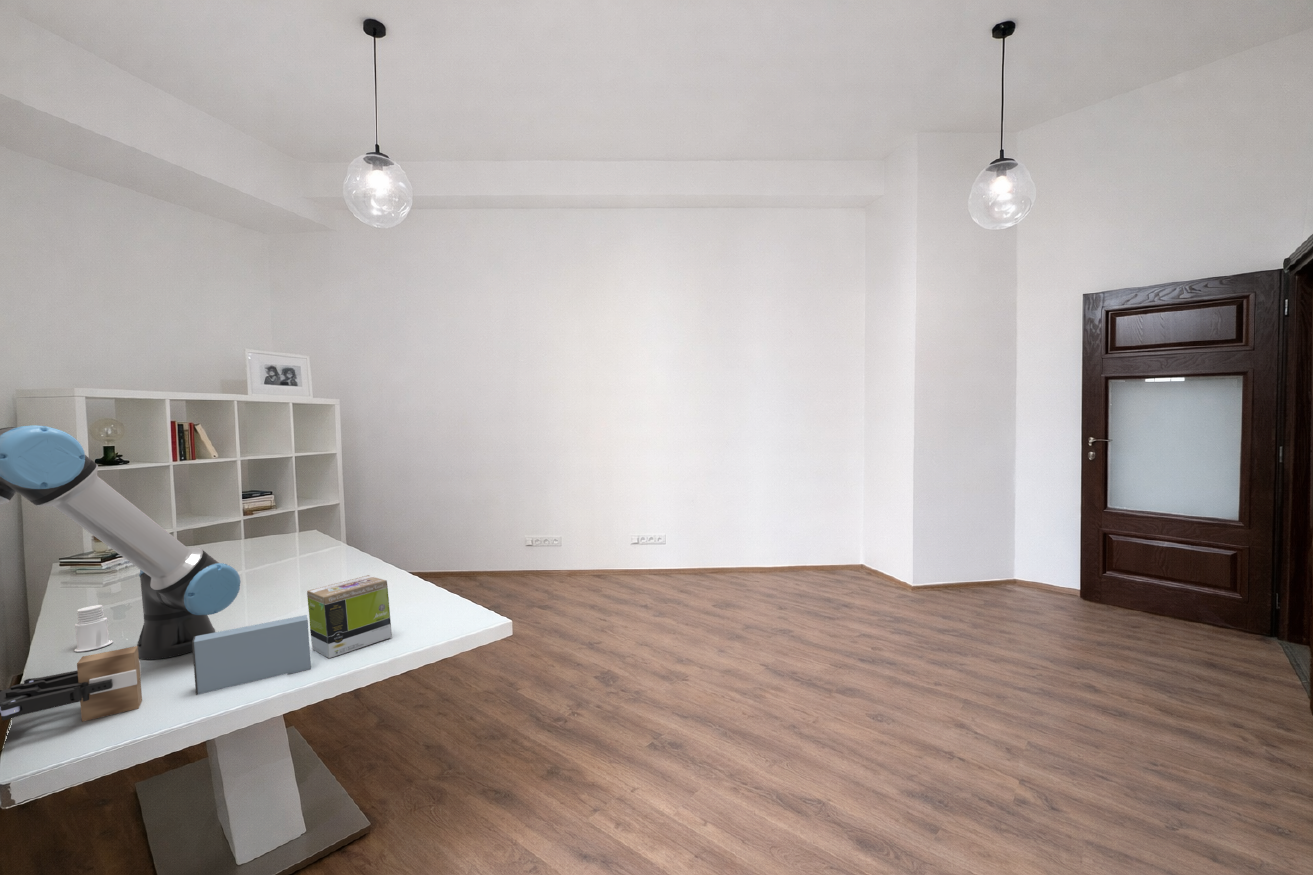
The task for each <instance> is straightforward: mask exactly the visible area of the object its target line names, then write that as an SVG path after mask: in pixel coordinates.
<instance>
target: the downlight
mask: <svg viewBox="0 0 1313 875" xmlns="http://www.w3.org/2000/svg"><path fill="white" fill-rule="evenodd" d="M103 609H104V608H103V605H102V604H97V605H89V606H85V607H82V608H78V609H77V613H76V614H77V619H78V622H77V623H75V624H74V626H75V628H74V629H75V636H76V646H77V647H76V648H75V649H74V650H73V651H74V652H76V653H77V652H81V653H82V652H87V651H94V650H99V649H102V648H104V647H107V646H109V645H112V643H114V641H113V640H110V634H109V625H108V617H104V616H105V615H104V610H103Z"/></svg>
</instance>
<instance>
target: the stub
mask: <svg viewBox="0 0 1313 875" xmlns="http://www.w3.org/2000/svg"><path fill="white" fill-rule="evenodd" d="M139 661H140V658H139V655H138V646H137V645H135V646H130V647H126V648H120V649H114V650H109V651H104V652H99V653H94V654H88V655H84V656H82V657H80V659H79V660H78V662H77V663H76V668H77V671H78V682H79V683H83V682H88V684H89V680H90V679H93V678H98V677H102V676H107V675H112V674H117V673H121V672H126V671H131V670H136V674H137V685H132V686H128V687H123V688H119V689H114V690H110V691H105V692H101V693H96V694H92V695H90V693H89V700H87V701H84V702H83V698H82V700H81V701H80V702H79V703H80V714H81V722H82V723H83V722H87V721H91V720H95V719H100V718H105V717H108V716H113V715H117V714H120V713H125V712H129V711H134V710H138V709H140V706H141V704H142V702H143V694H142V693H143V692H142V682H141V681H142V680H141V676H140V667H139Z"/></svg>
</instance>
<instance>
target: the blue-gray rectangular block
mask: <svg viewBox="0 0 1313 875" xmlns="http://www.w3.org/2000/svg"><path fill="white" fill-rule="evenodd" d="M308 620H309V619H308V615H307V614H304V615H298V616H293V617H288V618H284V619H279V620H273V621H267V622H263V623H262V622H261V623H257V624H253V625H252V624H251V625H247V626H242V627H237V628H231V629H226V630H221V631H215V633H210V634H205V635H199V636H194V638H193V641H192V649H193V651H192V659H193V660H192V661H193V673H194V683H195V684H194V685H195V695H196V696H198V695H201V694H206V693H209V692H215V691H218V690H223V689H227V688H231V687H236V686H241V685H245V684H248V683H252V682H257V681H261V680H266V679H270V678H273V677H274V678H275V677H279V676H282V675H286V674H287V675H291V674H296V673H300V672H304V671H308V670H312V664H311V661H312V660H311V649H310V634H309V633H310V631H309V621H308Z"/></svg>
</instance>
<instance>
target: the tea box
mask: <svg viewBox="0 0 1313 875" xmlns="http://www.w3.org/2000/svg"><path fill="white" fill-rule="evenodd" d="M306 591H307V592H306V596H307V606H308V618H309V619H308V620H309V630H310V631H309V633H310V641H311V649H312V650H314V651H315V652H316V653H318V654H320V655H322V656H324V657H326V658H328V659H331V658H335V657H338V656H339V655H344V654H346V653H348V652H353V651H355V650H358V649H361V648H364V647H367V646H369V645H372V644H375V643H378V642H382V641H385V640H387V639H390V638H391V639H392V637H393V634H392V633H393V632H392V624H391V623H392V622H391V609H390V599H389V588H388V580H386V579H382V578H378V577H375V576H372V575H368V574H367V575H364V576H361V577H356V578H353V579H352V578H351V579H349V580H345V581H340V582H337V583H336V582H335V583H332V584H328V585H325V586H320V587H316V588H313V589H308V590H306Z"/></svg>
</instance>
